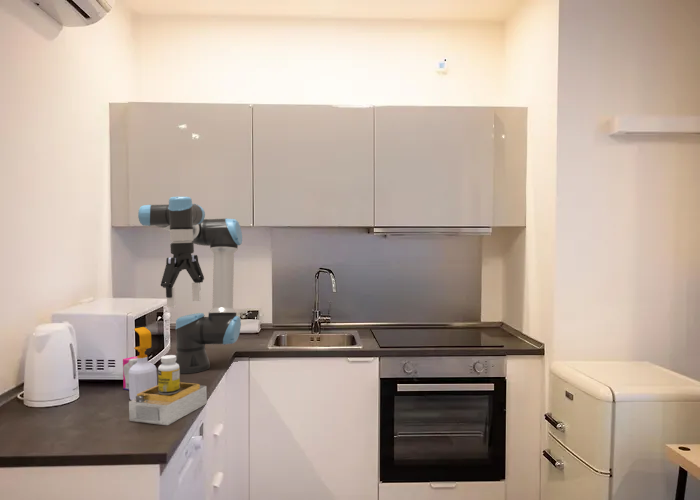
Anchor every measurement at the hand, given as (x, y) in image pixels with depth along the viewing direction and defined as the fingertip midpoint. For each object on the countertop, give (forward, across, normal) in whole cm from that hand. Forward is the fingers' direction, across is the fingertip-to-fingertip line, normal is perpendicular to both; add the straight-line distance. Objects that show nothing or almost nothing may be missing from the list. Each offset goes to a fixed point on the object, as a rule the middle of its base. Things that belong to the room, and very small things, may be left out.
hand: (184, 304), depth 171 cm
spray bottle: (+33, +2, -17) cm, 38 cm away
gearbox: (+33, +12, +2) cm, 35 cm away
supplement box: (+34, -6, -28) cm, 44 cm away
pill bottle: (+27, +12, +2) cm, 29 cm away
